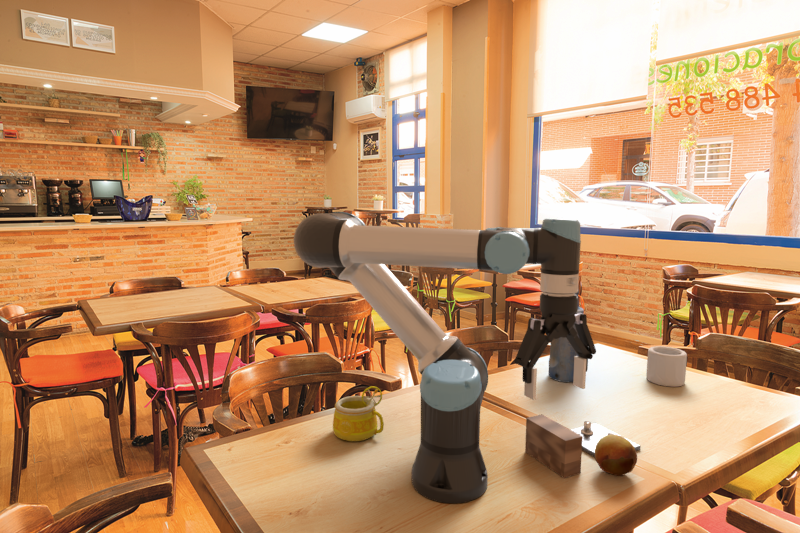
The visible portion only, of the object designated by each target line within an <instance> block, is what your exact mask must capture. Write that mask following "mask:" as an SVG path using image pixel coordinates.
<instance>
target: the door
mask: <svg viewBox="0 0 800 533" xmlns="http://www.w3.org/2000/svg"><path fill="white" fill-rule="evenodd" d="M525 419H526V420H525V422H526V423H525V447H524V448H525V451H524V452H525V453H526V454H527V455H529V456H531V457H532V458H534V459H535V460H537V461H538V462H540V464H542V465H544V466H545V467H547V468H548V469H550V470H551V471H553V472H555V473H556V474H557V475H559V476H560V477H561V478H563V479H567V478H569V477H573V476H575V475H579V474H581V471H582V470H581V469H582V453H583V450H582V436H581V435H579V434H577V433H575V432H573V431H572V430H570V428H568V427H566V426H564V425H562V424H560V423H559V422H557V421H555V420H553V419H552V418H549V417H548V416H547V415H544V414H538V415H533V416H530V417H526V418H525Z"/></svg>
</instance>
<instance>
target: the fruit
mask: <svg viewBox="0 0 800 533" xmlns="http://www.w3.org/2000/svg"><path fill="white" fill-rule="evenodd" d="M619 435H620V434H619ZM619 435H607V436H604V437H603V438H601V439H600V440H599V441H598V443H597V445H596V448H595V457H594V458H595V460H596V463H597V465H598V466H599V469H601V471H603V472H605V473H608V474H611V475H614V476H617V477H621V476H622V477H623V476H624V475H626V474H629V473H631V472H632V471H633V470H634V468H635V466H636V464H637V462H638V455H637V451H636V450H635V448H634V446H633V445H632V444H631V443H630V442H629V441H628V440H626V439H625V438H626V437H625V438H623V437H624V436H623V437H622V435H621V436H619Z"/></svg>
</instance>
